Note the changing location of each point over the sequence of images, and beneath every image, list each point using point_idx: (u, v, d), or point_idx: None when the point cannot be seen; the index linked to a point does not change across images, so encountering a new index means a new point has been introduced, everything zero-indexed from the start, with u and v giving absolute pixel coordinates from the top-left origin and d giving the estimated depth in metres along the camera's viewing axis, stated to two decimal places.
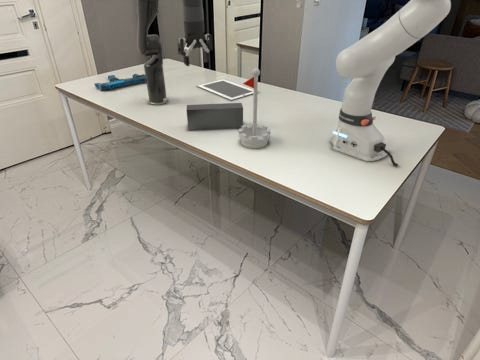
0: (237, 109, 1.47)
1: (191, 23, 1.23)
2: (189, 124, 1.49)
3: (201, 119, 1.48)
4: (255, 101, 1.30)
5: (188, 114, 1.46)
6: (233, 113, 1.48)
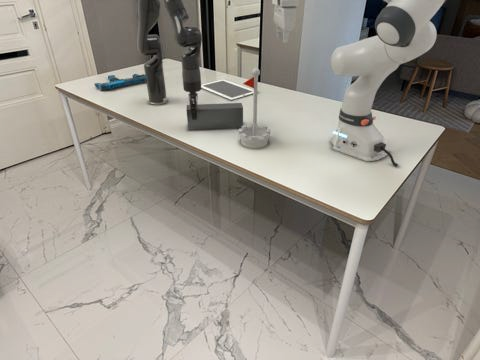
0: (237, 109, 1.47)
1: (198, 82, 1.40)
2: (189, 124, 1.49)
3: (201, 119, 1.48)
4: (255, 101, 1.30)
5: (188, 114, 1.46)
6: (233, 113, 1.48)
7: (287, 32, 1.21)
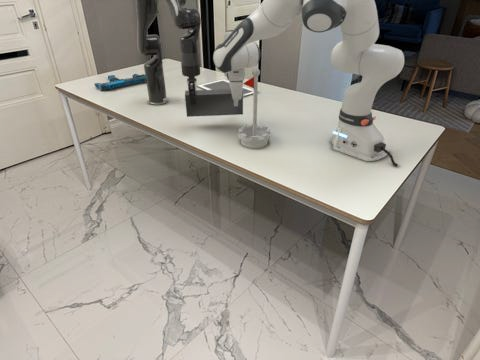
0: None
1: (197, 66, 1.36)
2: (188, 110, 1.45)
3: (200, 105, 1.45)
4: (255, 101, 1.30)
5: (187, 100, 1.43)
6: (232, 99, 1.45)
7: None
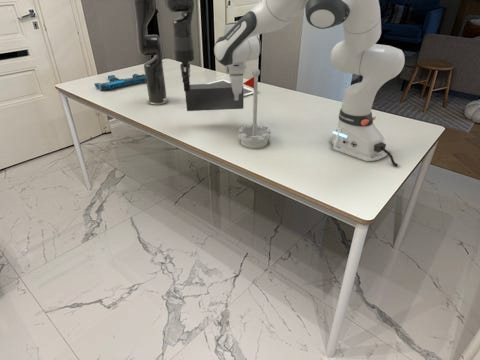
0: None
1: (190, 51, 1.33)
2: (188, 104, 1.44)
3: (201, 99, 1.44)
4: (255, 101, 1.30)
5: (187, 94, 1.42)
6: (233, 93, 1.44)
7: None
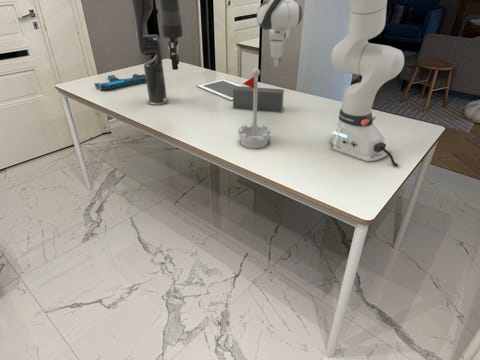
0: (277, 94, 1.64)
1: (178, 26, 1.28)
2: (234, 103, 1.71)
3: (245, 99, 1.69)
4: (255, 101, 1.30)
5: (234, 94, 1.68)
6: (273, 98, 1.65)
7: (276, 59, 1.52)
